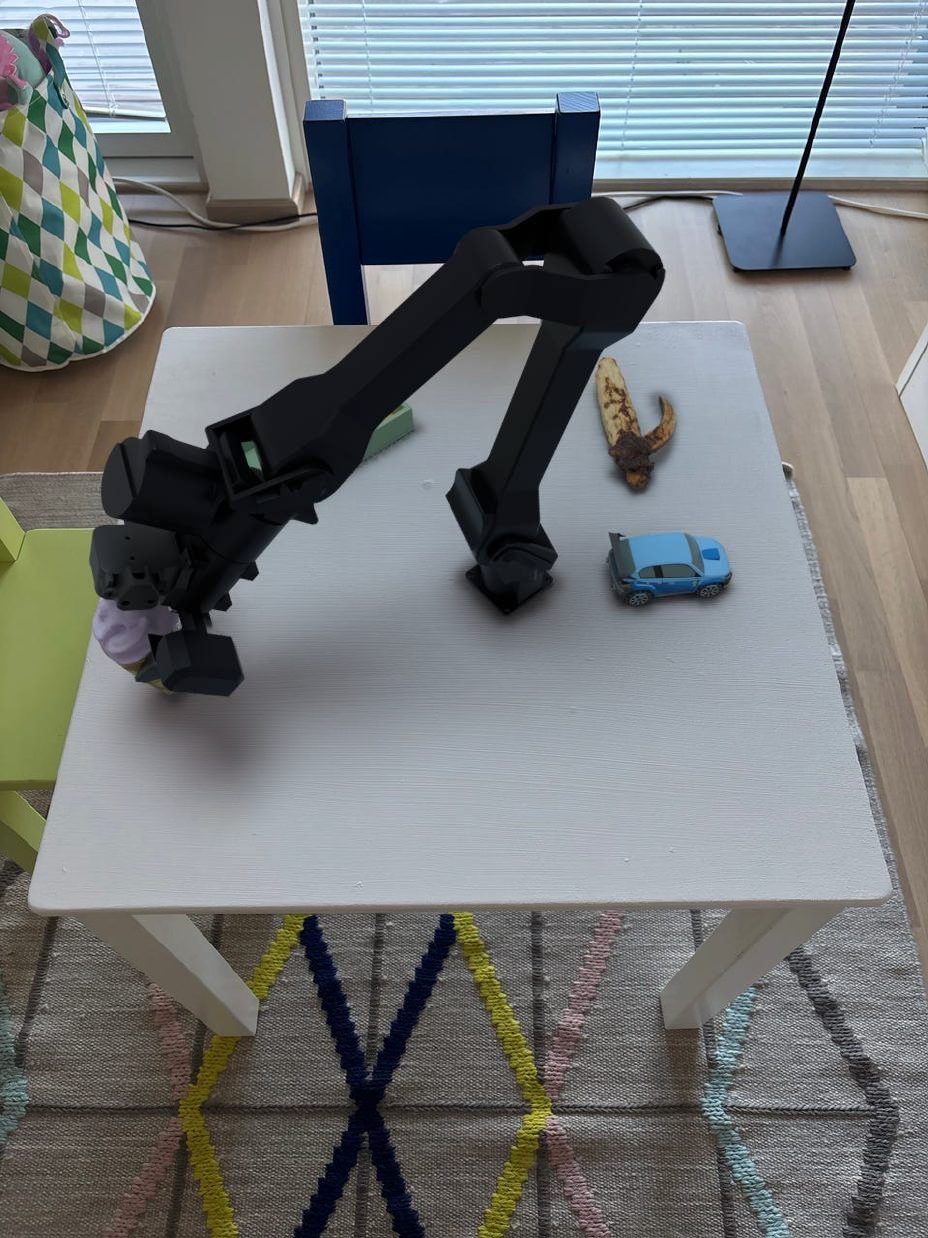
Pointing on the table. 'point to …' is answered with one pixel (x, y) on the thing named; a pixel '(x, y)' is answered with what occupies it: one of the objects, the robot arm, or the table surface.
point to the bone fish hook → (629, 425)
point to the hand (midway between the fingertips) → (133, 650)
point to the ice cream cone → (131, 634)
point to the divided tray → (381, 438)
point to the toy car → (666, 566)
